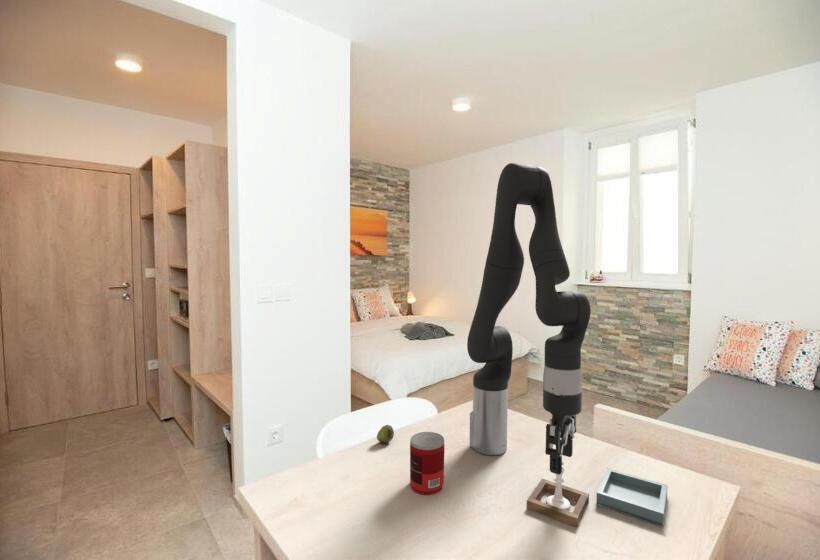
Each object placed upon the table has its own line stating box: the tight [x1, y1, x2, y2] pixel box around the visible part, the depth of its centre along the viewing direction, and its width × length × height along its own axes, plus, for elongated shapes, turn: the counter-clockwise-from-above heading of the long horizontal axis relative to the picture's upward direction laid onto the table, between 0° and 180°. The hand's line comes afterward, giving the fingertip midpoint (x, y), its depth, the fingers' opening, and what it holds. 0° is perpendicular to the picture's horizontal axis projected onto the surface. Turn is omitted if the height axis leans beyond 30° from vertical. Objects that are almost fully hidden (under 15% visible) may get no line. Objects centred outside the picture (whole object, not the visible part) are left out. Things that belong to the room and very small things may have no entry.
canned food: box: [409, 431, 445, 496], centre depth 93 cm, size 8×8×11 cm
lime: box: [376, 424, 395, 444], centre depth 114 cm, size 4×5×5 cm
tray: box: [595, 467, 669, 527], centre depth 87 cm, size 12×12×3 cm
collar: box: [526, 478, 590, 528], centre depth 86 cm, size 10×10×2 cm
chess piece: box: [545, 461, 572, 512], centre depth 85 cm, size 5×5×10 cm
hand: (561, 463), depth 85 cm, fingers open, 8 cm apart
